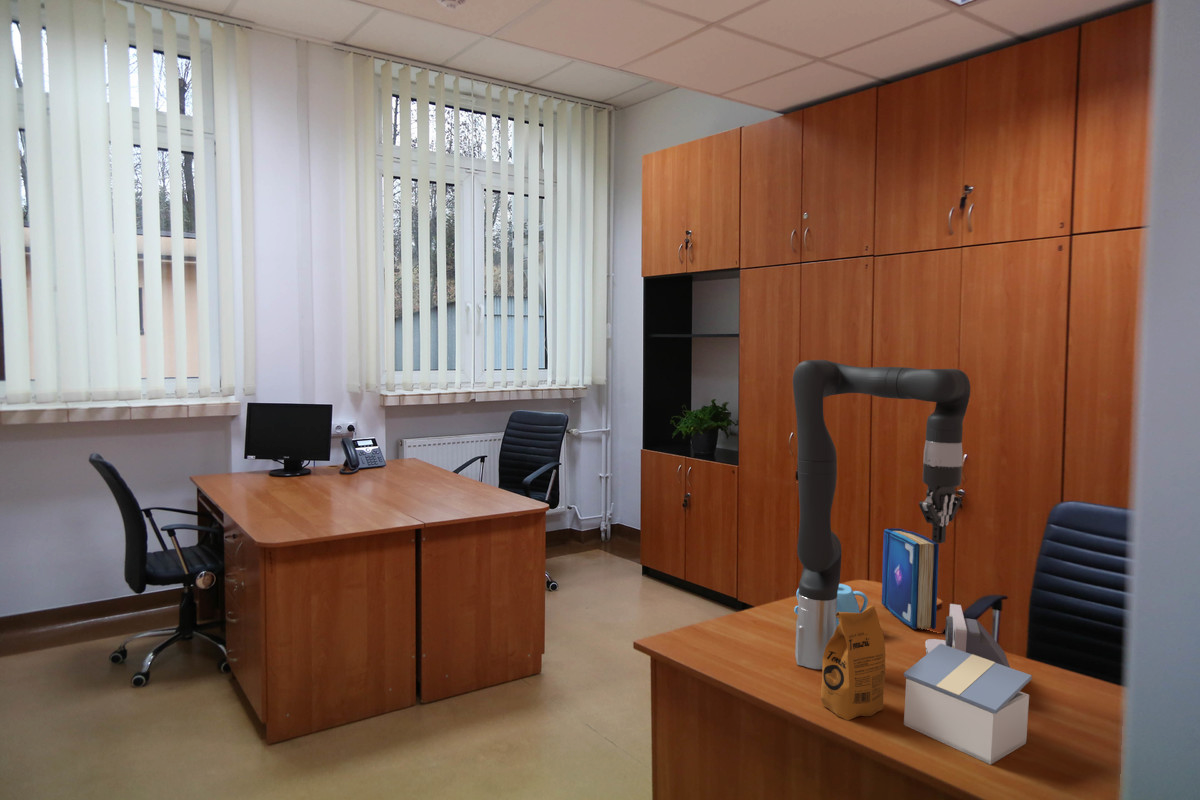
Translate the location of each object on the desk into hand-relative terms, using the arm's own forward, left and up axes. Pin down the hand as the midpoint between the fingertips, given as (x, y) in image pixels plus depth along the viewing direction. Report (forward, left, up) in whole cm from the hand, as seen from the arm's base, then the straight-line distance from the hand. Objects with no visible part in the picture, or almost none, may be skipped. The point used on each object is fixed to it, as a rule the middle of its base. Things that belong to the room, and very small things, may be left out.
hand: (938, 542), depth 161 cm
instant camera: (+13, +18, -37) cm, 44 cm away
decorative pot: (-15, +45, -37) cm, 60 cm away
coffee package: (-17, -3, -37) cm, 41 cm away
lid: (+4, -10, -25) cm, 27 cm away
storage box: (+4, -10, -37) cm, 39 cm away
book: (+8, +58, -37) cm, 69 cm away
